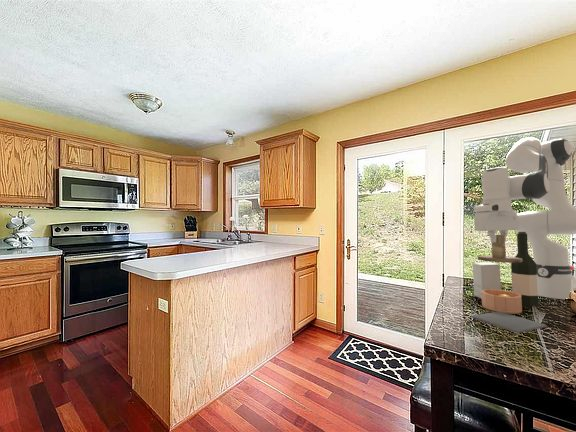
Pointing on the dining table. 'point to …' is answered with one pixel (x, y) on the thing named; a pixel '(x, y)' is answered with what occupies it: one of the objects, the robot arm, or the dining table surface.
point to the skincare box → (486, 277)
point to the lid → (500, 252)
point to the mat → (509, 321)
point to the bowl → (502, 301)
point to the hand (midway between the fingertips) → (498, 242)
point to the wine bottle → (525, 273)
